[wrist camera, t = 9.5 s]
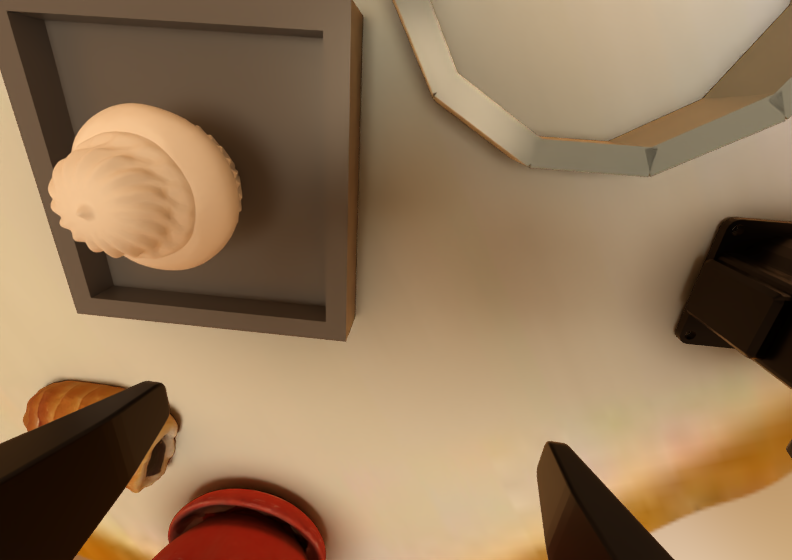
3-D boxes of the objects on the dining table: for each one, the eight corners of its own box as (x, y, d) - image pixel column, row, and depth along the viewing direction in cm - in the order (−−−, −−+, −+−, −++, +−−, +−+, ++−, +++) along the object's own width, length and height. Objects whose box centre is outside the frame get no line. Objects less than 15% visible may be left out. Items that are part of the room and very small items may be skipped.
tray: (363, 16, 15) (351, -3, 13) (355, 316, 21) (345, 341, 19) (36, -4, 16) (-30, -25, 14) (114, 292, 22) (77, 313, 19)
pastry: (50, 427, 27) (-7, 472, 23) (48, 354, 24) (-17, 393, 21) (176, 467, 27) (140, 518, 24) (188, 400, 25) (148, 446, 21)
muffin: (120, 117, 17) (-74, 118, 10) (249, 94, 16) (125, 79, 9) (172, 249, 19) (41, 316, 13) (286, 235, 18) (208, 299, 12)
